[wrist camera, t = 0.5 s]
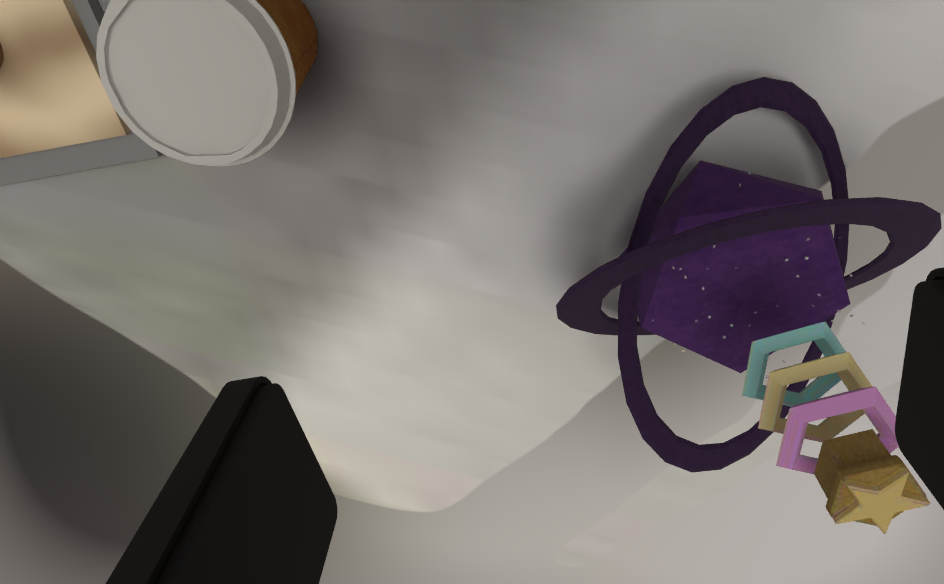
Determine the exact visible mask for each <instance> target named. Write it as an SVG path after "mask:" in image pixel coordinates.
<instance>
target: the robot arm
mask: <svg viewBox="0 0 944 584" xmlns="http://www.w3.org/2000/svg"><path fill="white" fill-rule="evenodd" d="M895 436H896V440H897V443H898V446H899V448H900V450H901V452H902V453H903V455H904V456H905V457H906V459H907V460H908V461H909V463H910V464H911V466H912V467H913V468H914V470H915V471H916V473H917V474H918V475H919V477H920V478H921V479H922V481H923V482H924V483H925V485H926V486H927V487H928V489H929V490H930V491H931V493H932V494H933V496H934V497H935V498H936V500H937V501H938V502H939V504H940V505H941V507H942V508H943V509H944V268H938V269H934V270H933V271H931V272H930V273H929V275H928V276H927V279H926V281H924V282H920V283H918V284H917V286H916V287H915V290H914V294H913V301H912V308H911V315H910V322H909V329H908V336H907V343H906V351H905V358H904V365H903V372H902V379H901V386H900V393H899V400H898V407H897V414H896V421H895ZM336 520H337V504H336V499H335V497H334V494H333V492H332V490H331V488H330V486H329V484H328V482H327V480H326V478H325V475H324V473H323V471H322V469H321V467H320V465H319V463H318V461H317V459H316V457H315V455H314V453H313V451H312V448H311V446H310V444H309V442H308V440H307V438H306V436H305V434H304V432H303V430H302V428H301V426H300V423H299V421H298V419H297V417H296V415H295V413H294V411H293V409H292V407H291V405H290V403H289V401H288V399H287V396H286V394H285V392H284V390H283V389H282V387H281V386H280V385H279V384H276V383H274V384H272V383H271V381H270V380H269V379H268V378H266V377H263V376H260V377H254V378H248V379H242V380H235V381H230V382H228V383H226V385H225V386H224V387H223V388H222V390H221V392H220V393H219V395H218V397H217V399H216V400H215V402H214V404H213V405H212V407H211V409H210V410H209V412H208V414H207V415H206V417H205V419H204V420H203V422H202V424H201V425H200V427H199V429H198V430H197V432H196V434H195V435H194V437H193V439H192V441H191V442H190V444H189V445H188V447H187V449H186V450H185V452H184V454H183V456H182V457H181V459H180V460H179V462H178V464H177V465H176V467H175V469H174V470H173V472H172V474H171V475H170V477H169V479H168V480H167V482H166V484H165V485H164V487H163V489H162V490H161V492H160V494H159V496H158V497H157V499H156V501H155V502H154V504H153V506H152V507H151V509H150V511H149V512H148V514H147V515H146V517H145V519H144V521H143V522H142V524H141V526H140V527H139V529H138V531H137V532H136V534H135V536H134V537H133V539H132V541H131V542H130V544H129V546H128V547H127V549H126V551H125V552H124V554H123V556H122V557H121V559H120V561H119V562H118V564H117V566H116V567H115V569H114V571H113V572H112V574H111V576H110V577H109V579H108V581H107V582H106V584H319V581H320V577H321V574H322V570H323V566H324V563H325V560H326V556H327V552H328V549H329V545H330V541H331V538H332V534H333V531H334V527H335V523H336Z"/></svg>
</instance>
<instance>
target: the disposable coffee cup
mask: <svg viewBox="0 0 944 584" xmlns="http://www.w3.org/2000/svg"><path fill="white" fill-rule="evenodd" d="M317 48H318V39H317V32H316V28H315V24H314V21H313V19H312V17H311V15H310V13H309V11H308V10H307V8H306V7H305V6H304V4H303V3H302V2H301V1H300V0H110V2H109V5H108V7H107V9H106V12H105V14H104V17H103V18H102V22H101V25H100V28H99V31H98V34H97V50H96V59H97V64H98V69H99V74H100V79H101V83H102V85H103V87H104V89H105V91H106V93H107V95H108V98H109V100H110V102H111V104H112V106H113V108H114V109H115V111H116V112H117V113H118V114H119V116H120V117H121V118H122V119H123V121H124V122H125V123H126V125H127V126H128V127H129V128H130V130H131V131H132V132H133V133H135V134H136V135H137V136H138V137H140V138H141V139H142V140H143V141H144V142H146V143H147V144H148V145H149V146H151V147H152V148H154V149H156V150H158V151H159V152H161V153H163V154H164V155H166V156H169V157H172V158H174V159H177V160H180V161H183V162H187V163H190V164H196V165H208V166H231V165H237V164H242V163H245V162H248V161H251V160H253V159H255V158H257V157H259V156H261V155H262V154H264V153H265V152H266V151H268V150H269V149H270V148H272V147H273V146H274V144H275V143H276V142H277V141H278V140H279V138H280V137H281V136H282V135H283V133H284V132H285V130H286V128H287V125H288V123H289V121H290V119H291V117H292V114H293V111H294V104H295V97H296V94H297V93H298V91H299V89H300V87H301V85H302V84H303V82H304V80H305V78H306V76H307V74H308V72H309V71H310V69H311V67H312V65H313V63H314V61H315V58H316V55H317Z"/></svg>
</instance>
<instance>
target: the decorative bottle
mask: <svg viewBox="0 0 944 584" xmlns="http://www.w3.org/2000/svg"><path fill="white" fill-rule="evenodd" d="M759 107H763V108H769V109H775V110H781V111H785V112H787V113H788V114H789V115H791V116H792V117H793V118H795V119H796V120H798V121H799V122H800V123H802V124H803V125H804V126H806V128H807V130H808V131H809V133H810V134H811V136H812V138H813V139H814V141H815V142H816V144H817V146H818V147H819V149H820V150H821V152H822V156H823V159H824V162H825V165H826V169H827V172H828V175H829V179H830V182H831V187H832V197H833V199H828V200H824V199H823V195H822V191H819V190H815V189H811V188H807V187H803V186H799V185H795V184H791V183H787V182H783V181H779V180H775V179H771V178H768V177H764V176H760V175H756V174H752V173H750V172H749V173H748V172H744V171H740V170H736V169H732V168H728V167H724V166H720V165H716V164H712V163H708V162H704V161H700V162H699V163H698V164H697V165H696V166H695V168H694V169H693V170H692V171H691V172H690V173H689V175H688V176H687V177H686V178H685V179H684V181H683V182H682V183H681V184H680V185H679V187H678V188H677V189H676V190H675V191H674V192H673V194H672V195H671V196H670V197H669V198H668V200H667V201H666V202H665V203H664V204H663V205H662V203H663V201H664V199H665V197H666V196H667V194H668V192H669V190H670V188H671V186H672V184H673V182H674V180H675V178H676V177H677V175H678V173H679V171H680V169H681V167H682V166H683V164H684V163H685V162H686V161H687V159H688V158H689V157H690V156H691V154H692V153H693V152H694V151H695V149H696V148H697V147H698V146H699V145H700V143H701V142H702V141H703V140H704V138H705V137H706V136H707V135H708V134H709V133H711V132H712V131H713V130H715V129H716V128H717V127H719V126H720V125H721V124H723V123H724V122H725V121H727V120H728V119H729V118H731V117H732V116H733V115H736V114H739V113H743V112H746V111H749V110H753V109H756V108H759ZM661 205H662V207H661ZM660 207H661V208H660ZM830 224H835V231H834V238H833V234H832V230H831V226H830ZM849 224H857V225H868V226H874V227H876V228H878V229H881V230H883V231H886V232H887V235H888V237H889V240H890V243H889V245H888V246H887V248H886V250H885V251H884V252H883V253H882V254H881V255H879V256H878V257H877V258H875V259H874V260H873V261H872V262H870V263H869V264H867V265H865V266H863V267H861V268H860V269H858V270H856V271H854V272H852V273H851V274H849V275H847V276H845V277H844V272H845V267H846V262H847V251H848V250H847V249H848V234H849V233H848V232H849ZM940 229H941V217H940V213H938V212H936V211H935V210H933V209H931V208H929V207H928V206H926V205H924V204H923V203H919V202H912V201H905V200H897V199H890V198H881V197H875V198H853V199H852V198H851V199H848V190H847V179H846V169H845V165H844V162H843V159H842V155H841V152H840V148H839V145H838V142H837V138H836V135H835V132H834V129H833V128H832V126H831V124H830V123H829V121H828V120H827V118H826V116H825V115H824V113H823V111H822V110H821V108H820V106H819V105H818V103H817V101H816V100H814V99H813V98H812V97H810V96H809V95H808V94H806V93H805V92H804V91H803V90H801V89H800V88H799V87H797V86H796V85H795V84H794V83H792V82H787V81H782V80H776V79H771V78H766V77H762V78H759V79H755V80H752V81H748V82H745V83H741V84H738V85H734V86H732V87H730V88H729V89H728V90H726V91H725V92H724V93H722V94H721V95H719V96H718V97H717V98H715V99H714V100H713V101H711V102H710V103H709V104H707V105H706V106H704V107H703V108H702V109H700V111H699V112H698V113H697V114H696V116H695V117H694V118H693V119H692V121H691V122H690V123H689V124H688V125H687V127H686V128H685V129H684V130H683V132H682V133H681V134H680V135H679V137H678V138H677V139H676V140H675V142H674V143H673V144H672V145H671V147H670V149H669V150H668V152H667V154H666V156H665V158H664V160H663V162H662V164H661V166H660V167H659V169H658V171H657V173H656V175H655V177H654V179H653V181H652V183H651V184H650V186H649V188H648V190H647V192H646V194H645V197H644V200H643V203H642V206H641V209H640V212H639V215H638V218H637V221H636V224H635V227H634V230H633V233H632V236H631V239H630V242H629V245H628V247H627V248H626V249H625V251H624V252H623V253H622V254H621V255H620V256H619V258H616V259H614V260H612V261H610V262H608V263H606V264H604V265H602V266H600V267H599V268H597V269H596V270H594V271H593V272H591V273H590V274H589V275H587V276H586V277H584V278H583V279H581V280H580V281H578V282H577V283H576V284H574V285H573V286H571V287H570V288H569V289H568V290H567V291H566V293H565V294H564V295H563V297H562V298H561V300H560V301H559V302H558V304H557V305H556V308H557V317H558V319H559V320H561V321H562V322H564V323H565V324H566V325H568V326H569V327H571V328H574V329H578V330H582V331H586V332H590V333H594V334H605V335H618V360H619V365H620V370H621V376H622V381H623V387H624V392H625V397H626V403H627V405H628V407H629V409H630V412H631V414H632V416H633V418H634V420H635V423H636V425H637V427H638V429H639V431H640V434H641V436H642V438H643V439H644V440H645V441H646V442H647V444H648V445H649V446H650V447H651V448H652V449H653V450H654V451H655V452H656V453H657V454H658V455H659V456H660V457H661V458H662V459H663V460H664V461H665V462H666V463H669V464H671V465H674V466H677V467H679V468H682V469H684V470H687V471H690V472H700V471H710V470H720V469H722V468H724V467H726V466H728V465H730V464H732V463H734V462H736V461H738V460H740V459H742V458H744V457H746V456H747V455H749V454H751V453H752V452H753V451H754V450H755V449H756V448H757V447H758V446H759V445H760V444H761V443H762V442H763V441H765V440H766V439H767V438H768V437H769V436H770V435H771V434H772V433H773V432H777V433H782V434H783V438H782V442H781V447H780V451H779V455H778V459H777V464H776V465H777V466H780V467H784V468H788V469H792V470H797V471H802V472H806V473H811V474H815V476H816V478H817V480H818V482H819V484H820V485H821V487H822V489H823V491H824V492H825V494H826V496H827V498H828V501H827V504H826V509H827V510H828V512H829V514H830V515H831V517H832V518H833V520H834V521H835V523H836V524H838V523H844V522H850V521H856V522H861V523H866V524H870V525H875V526H877V527H879V529H880V530H881V531H882V532H883V533H884V534H885V533H886V531H887V529H888V526H889V524H890V522H891V519H893V518H894V517H896V516H897V515H899V514H900V513H902V512H903V511H905V510H909V509H914V508H918V507H922V506H927V505H929V504H930V502H929V501H928V499H927V497H926V494H925V493H924V491H923V490H922V489H921V487H920V486H919V484H918V483H917V481H916V480H915V479H914V477H913V476H912V474H911V473H910V471H909V470H908V468H907V467H906V466H905V464H904V463H903V461H902V460H901V459H900V458H899V457H898V456H896V455H893V456H891V455H890V453H891V452H892V451H893V450H895V449H896V448H898V447H899V446H898V443H897V440H896V436H895V421H896V416H895V415H894V413H893V412H892V410H891V409H890V407H889V406H888V404H887V403H886V401H885V400H884V398H883V397H882V396H881V394H880V392H879V391H878V389H877V388H876V387H872V385H871V384H870V382H869V381H868V379H867V378H866V377H865V375H864V374H863V372H862V371H861V369H860V368H859V366H858V365H857V363H856V362H855V360H854V359H853V357H852V356H851V354H850V353H849V352H846V351H845V350H844V348H843V347H842V345H841V344H840V342H839V341H838V339H837V338H836V336H835V335H834V334H833V332H832V331H831V326H832V323H833V322H834V321H833V319H834V317H835V314H836V313H837V312H839V311H840V310H841V309H843V308H845V307H846V306H848V305H849V304H850V301H849V297H848V293H847V290H848V289H850V288H852V287H855V286H857V285H859V284H862V283H865V282H867V281H869V280H872V279H874V278H876V277H878V276H880V275H882V274H884V273H885V272H888V271H890V270H891V269H893V268H895V267H897V266H899V265H901V264H903V263H904V262H906V261H907V260H909V259H910V258H911V257H913V256H914V255H916V254H917V253H918V252H920V251H921V250H923V249H924V248H925V247H926V246H927V245H929V243H930V242H931V241H932V239H933V238H934V237H935V236H936V234H937V233H938V232H939V231H940ZM851 244H852V243H851V242H850V243H849V245H851ZM621 283H622V284H621ZM619 284H621V290H620V296H619V302H618V319H614V318H611V317H608V316H607V315H606V314H605V313H604V312H603V311H602V310H601V305H602V299H603V298H604V297H605V296H606V295H607V294H608V293H609V292H610V291H611V289H613V288H615V287H616V286H618V285H619ZM637 315H638V319H639V322H637ZM852 316H853V315H851V317H852ZM863 324H864V323H863ZM835 326H837V325H836V324H835ZM655 334H656V335H659V336H661V337H663V338H665V339H667V340H670V341H672V342H674V345H676V344H678V345H681V346H683V347H685V348H687V349H689V350H692V351H694V352H696V353H698V354H700V355H702V356H705V357H707V358H709V359H711V360H713V361H716V362H718V363H720V364H722V365H724V366H726V367H729V368H731V369H733V370H735V371H737V372H739V373H742V372H743V371H744V370H746V369H747V372H746V378H745V383H744V388H743V394H742V395H743V396H747V397H751V398H756V399H760V400H764V401H763V406H762V411H761V416H760V420H759V421H758V422H757V423H756V424H755V425H754V426H753V427H752V428H751V429H749V430H748V431H746V432H744V433H742V434H740V435H738V436H736V437H734V438H732V439H730V440H728V441H726V442H724V443H716V444H704V445H698V444H695V443H693V442H691V441H688V440H686V439H683V438H681V437H678V436H676V435H675V434H674V433H673V432H672V430H671V429H670V428H669V427H668V426H667V425H666V424H665V423H664V422H663V421H662V420H661V418H659V416H658V415H657V413H656V411H655V409H654V406H653V404H652V402H651V399H650V397H649V395H648V393H647V391H646V388H645V386H644V383H643V377H642V372H641V366H640V360H639V354H638V349H637V335H655ZM810 341H812V343H811V345H810V347H809V349H808V351H807V353H806V355H805V357H804V359H803V361H802V363H800V364H797V365H793V366H789V367H785V368H781V369H778V370H774V371H772V372H770V373H769V376H767V378H768V382H767V386H765V385H762V384H763V379H764V374H765V369H766V365H767V360H768V359H770V358H769V357H768V356H769V355H770V354H772V353H773V352H775V351H777V350H780V349H784V348H788V347H791V346H795V345H799V344H803V343H806V342H810ZM682 352H684V350H683V351H682ZM822 353H823V355H824V356H825V357H823V358H820V357H821V355H822ZM783 362H785V361H784V360H783ZM816 377H817V378H816ZM812 378H816V379H815V380H814V381H813V382H811V383H810V384H809V385H808V386H807V387H806V385H807V383H808V381H809V379H812ZM841 380H842V381H843V383H844V384H845V386H846V387H847V388H848V390H849V391H848V392H844V393H840V394H836V395H832V396H828V397H824V398H820V397H821V396H822V395H824V394H825V393H826V392H827V391H828V390H830V389H831V388H832V387H833V386H834V385H836V384H837V383H838V382H839V381H841ZM789 384H790V385H789ZM787 385H789V386H788V387H787ZM805 387H806V388H805ZM786 388H787V389H786ZM819 398H820V399H819ZM864 413H865V414H866V415H867V416H868V418H869V419H870V421H871V422H872V424H873V425H874V426H875V428H876V429H877V431H878V432H879V433H878V434H877V435H876V433H875V432H874V431H873V429H871V430H867V431H862V432H858V433H854V434H850V435H845V436H841V437H837V438H834V437H835V436H836V435H837V434H839V433H840V432H841V431H843V430H844V429H845V428H846V427H848V426H849V425H850V424H851V423H853V422H854V421H855V420H857V419H858V418H859V417H860V416H862V415H863V414H864ZM787 414H788V417H787V419H785V417H786V416H787ZM827 417H828V418H827ZM823 418H827V419H825V420H824V421H823V422H822V423H820V424H819V425H818V426H816V425H812V424H808V422H811V421H815V420H819V419H823ZM804 438H805V439H809V440H814V441H818V442H823V443H822V447H821V450H820V454H819V457H818V459H817V458H813V457H808V456H804V455H800V451H801V448H802V444H803V440H804ZM832 438H833V439H832Z"/></svg>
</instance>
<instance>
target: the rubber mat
mask: <svg viewBox="0 0 944 584" xmlns="http://www.w3.org/2000/svg"><path fill="white" fill-rule="evenodd" d="M71 1H72V3H73V5H74V7H75V9H76V11H77V14H78V16H79V18H80V20H81V22H82V24H83V26H84V29H85V31H86V33H87V35H88V37H89V39H90V41H91V44H92V46H93V48H94V50H95V52H96V50H97V34H98V31H99V28H100V25H101V22H102V18H103V17H104V14H103V12H102V10H101V7H100V5H99V3H98V1H97V0H71ZM162 154H163V153H161V152H159V151H158V150H156V149H154V148H152V147H151V146H149V145H148V144H147V143H146V142H144V141H143V140H142V139H141V138H140V137H138V136H137V135H136V134H135V133H133V132H130V133H129V134H127V135H123V136H118V137H112V138H107V139H101V140H96V141H91V142H85V143H80V144H74V145H69V146H64V147H58V148H53V149H47V150H42V151H37V152H31V153H26V154H21V155H15V156H10V157H4V158H0V185H5V184H10V183H16V182H21V181H27V180H33V179H38V178H44V177H49V176H55V175H61V174H66V173H72V172H77V171H83V170H88V169H94V168H100V167H105V166H111V165H116V164H122V163H128V162H133V161H139V160H144V159H150V158H156V157H159V156H161V155H162Z"/></svg>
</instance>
